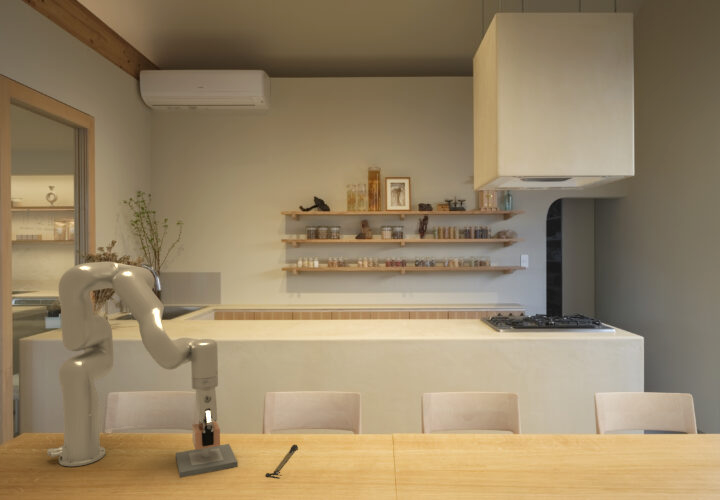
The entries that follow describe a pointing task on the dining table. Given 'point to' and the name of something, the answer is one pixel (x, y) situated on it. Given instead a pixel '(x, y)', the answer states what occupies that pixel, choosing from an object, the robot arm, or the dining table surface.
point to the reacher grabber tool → (282, 462)
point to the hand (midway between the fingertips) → (206, 440)
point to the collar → (197, 435)
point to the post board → (205, 460)
